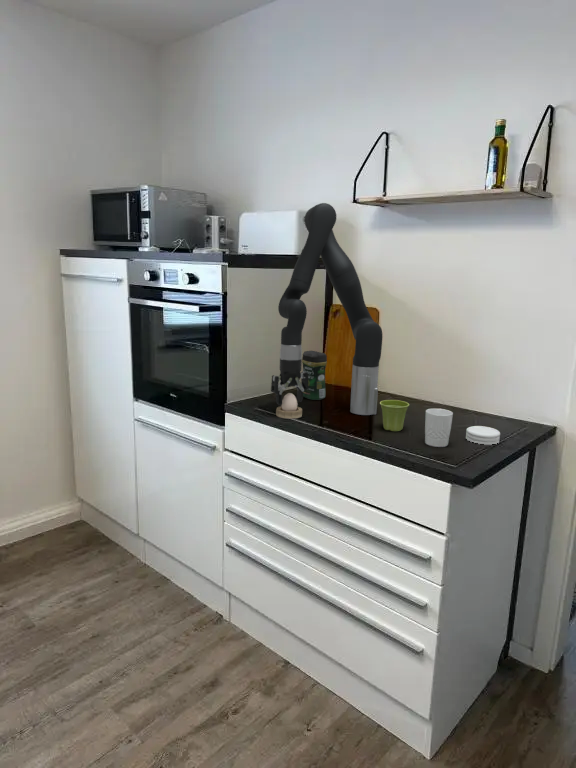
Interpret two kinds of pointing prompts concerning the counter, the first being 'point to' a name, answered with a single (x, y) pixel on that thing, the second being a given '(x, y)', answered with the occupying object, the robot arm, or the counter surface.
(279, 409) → the egg holder
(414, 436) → the counter surface
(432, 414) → the white cup
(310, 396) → the coffee jar
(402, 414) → the plant pot
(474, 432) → the white jar lid
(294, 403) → the egg
